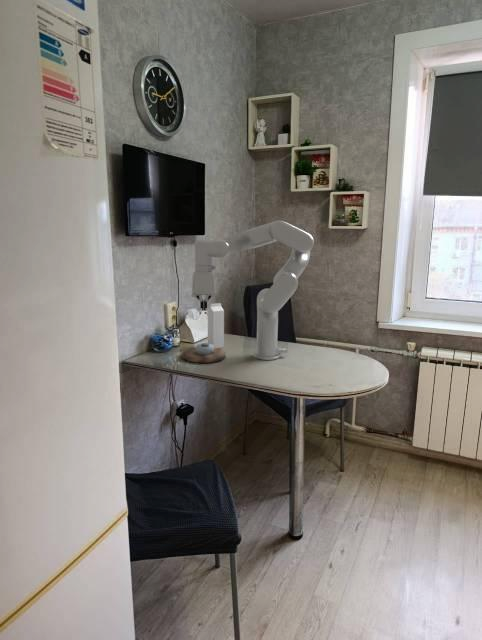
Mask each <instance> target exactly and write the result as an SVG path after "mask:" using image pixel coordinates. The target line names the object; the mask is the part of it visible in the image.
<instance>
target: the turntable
mask: <svg viewBox="0 0 482 640" xmlns="http://www.w3.org/2000/svg"><path fill="white" fill-rule="evenodd" d="M226 356H227V353H226V351H225V350H224V349H223V348H214V353H213V354H211V355H199V354H197V353H196V346H195V347H189V348H186V349H184V350H183V351H182V352H181V357H182V359H184V360H185V361H187V362H192V363H200V364H201V363H206V364H207V363H214V362H220V361H222V360H224V359H225V358H226Z"/></svg>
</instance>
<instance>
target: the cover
mask: <svg viewBox="0 0 482 640" xmlns="http://www.w3.org/2000/svg"><path fill="white" fill-rule="evenodd" d="M195 347H196V353H197V354H199V355H211V354H213V353H214V345H212V344H208V342H203V343H199V344H196V346H195Z"/></svg>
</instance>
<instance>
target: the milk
mask: <svg viewBox="0 0 482 640" xmlns="http://www.w3.org/2000/svg"><path fill="white" fill-rule="evenodd" d="M207 343H208V344H212V345H214V348H219V349H224V346H225V309H224V308H223V307H222V303H221V302H219V303H218V302H217V303H210V305H209V307H208V308H207Z"/></svg>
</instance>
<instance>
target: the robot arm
mask: <svg viewBox="0 0 482 640" xmlns="http://www.w3.org/2000/svg"><path fill="white" fill-rule="evenodd" d="M275 242H280V243H281V244H282V245H283V244H284V245H285V246H287V247H289V248H290V249H291V254H290V257H289V258H288V259H287V261H286V262H285V263H284V265H283V266H282V267H281V268H280V269H279V270H278V271H277V273H276V274H275V275H274V277H273V281H272V282H273V284H272V285H271V286H270V287H269V288H267V287H266V288H264V289H262V290H260V291H259V292H258V294H257V295H256V311H257V313H256V351H254V352H253V354H252V356H253V358H255V359H257V360H263V361H272V360H277V359H279V358H281V354H287V353H288V349H287V348H284V347H278V331H279V329H278V328H279V311H280V310H281V309H282V308H283V307H284V305H285V304H286V303H287V302H288V301H289V300H290V298H291V297H292V296H293V295H294V293H295V292H296V290H297V289H298V287H299V280H298V279H299V278H300V276H301V275H302V274H303V272H304V271H305V269H306V268H307V266H308V264H309V263H310V260H311V250H312V249H313V248H314V245H315V240H314V237H313V236H312V235H311V234H310V233H309V232H306V231H304V230H303V229H301V228H298V227H296V226H294V225H293V224H290V223H288V222H286V221H284V220H275V221H272V222H268V223H265V224H262V225H259V226H256V227H253V228H250V229H247V230H244V231H242V232H239V233H236V234H233V235H229V236H227V237H224V238H220V239H217V240H214V241H211V240H204V239H203V240H201V239H200V240H196V241H195V242H194V271H193V274H192V278H191V279H192V283H191V284H192V286H191V290H192V291H191V297H192V298H196V299H197V300H198V301H199V302H200V303H199V304H200V309H201V311H206V309H208V302H209V300H210V299H212V298H215V297H216V296H217V295H216V277H215V272H214V270H216V266H214V265H213V258H217V259H223V258H226V257H227V256H228V255H230V254H233V253H236V252H239V251H243V250H253V249H256V248H259V247H264V246H266V245H269V244H272V243H275ZM203 296H205V298H204V299H203Z"/></svg>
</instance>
